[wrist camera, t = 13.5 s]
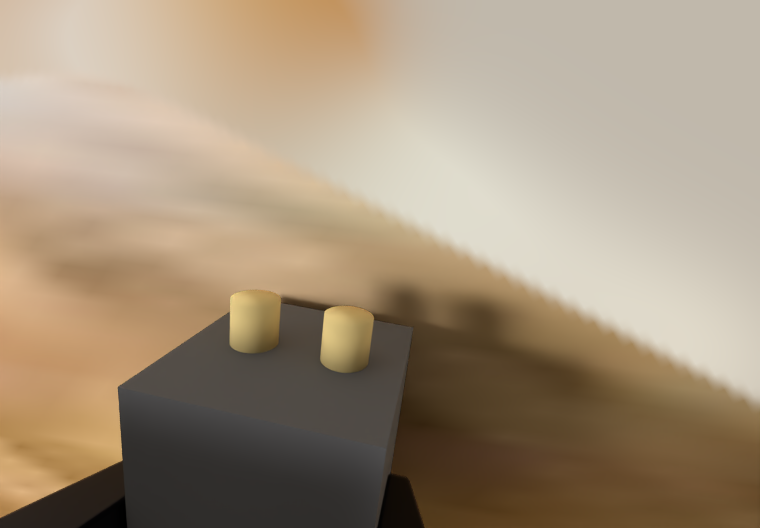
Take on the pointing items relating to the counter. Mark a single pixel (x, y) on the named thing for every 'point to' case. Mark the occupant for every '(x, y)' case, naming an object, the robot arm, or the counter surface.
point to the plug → (266, 420)
